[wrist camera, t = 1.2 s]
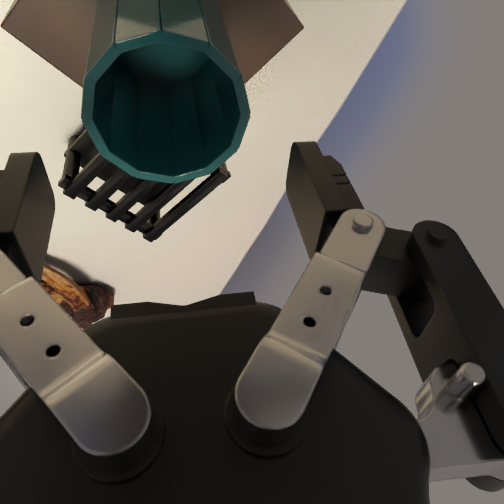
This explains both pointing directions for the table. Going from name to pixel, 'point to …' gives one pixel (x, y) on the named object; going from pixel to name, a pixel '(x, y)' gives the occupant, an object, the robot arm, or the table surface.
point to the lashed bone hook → (77, 297)
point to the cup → (163, 88)
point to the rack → (128, 189)
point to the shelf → (83, 15)
